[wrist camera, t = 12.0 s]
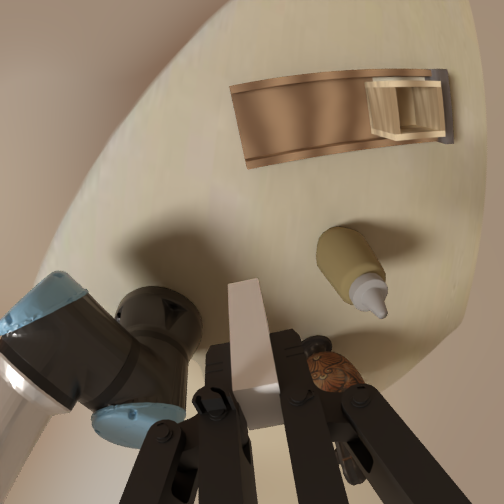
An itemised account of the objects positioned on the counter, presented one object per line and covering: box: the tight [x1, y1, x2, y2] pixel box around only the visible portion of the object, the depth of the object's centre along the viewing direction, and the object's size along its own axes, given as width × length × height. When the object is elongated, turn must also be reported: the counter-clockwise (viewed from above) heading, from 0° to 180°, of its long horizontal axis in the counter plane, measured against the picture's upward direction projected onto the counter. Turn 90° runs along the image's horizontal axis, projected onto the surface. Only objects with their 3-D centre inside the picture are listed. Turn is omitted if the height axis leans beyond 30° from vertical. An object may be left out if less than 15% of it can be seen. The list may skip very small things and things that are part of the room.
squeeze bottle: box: [316, 227, 388, 319], centre depth 40 cm, size 8×8×18 cm
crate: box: [365, 80, 446, 141], centre depth 35 cm, size 8×7×7 cm
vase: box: [301, 336, 366, 485], centre depth 45 cm, size 12×12×30 cm
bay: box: [229, 69, 454, 169], centre depth 37 cm, size 30×11×5 cm, turn 101°
